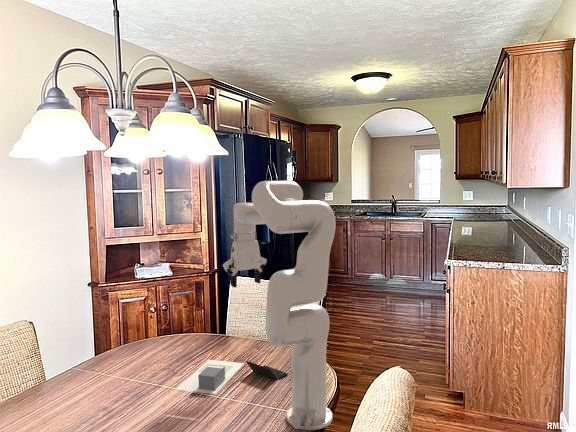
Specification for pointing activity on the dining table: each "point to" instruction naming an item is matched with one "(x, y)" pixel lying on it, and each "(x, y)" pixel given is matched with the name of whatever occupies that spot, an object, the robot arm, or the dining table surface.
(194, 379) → the mat
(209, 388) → the card box
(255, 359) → the dining table surface
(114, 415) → the dining table surface
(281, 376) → the handheld gaming console
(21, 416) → the dining table surface
